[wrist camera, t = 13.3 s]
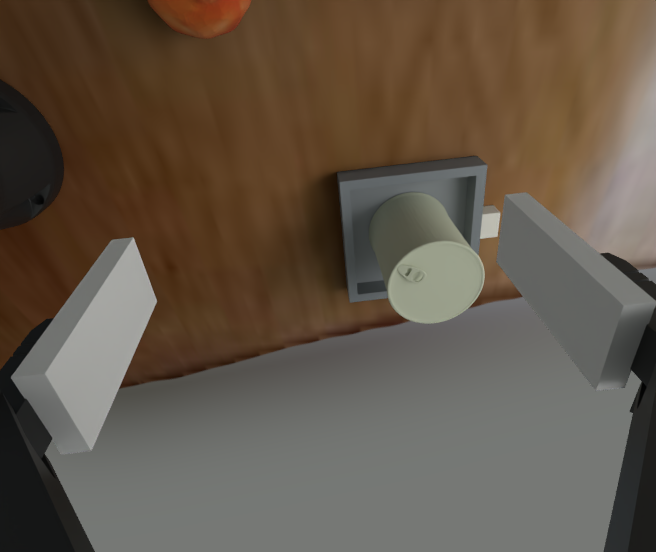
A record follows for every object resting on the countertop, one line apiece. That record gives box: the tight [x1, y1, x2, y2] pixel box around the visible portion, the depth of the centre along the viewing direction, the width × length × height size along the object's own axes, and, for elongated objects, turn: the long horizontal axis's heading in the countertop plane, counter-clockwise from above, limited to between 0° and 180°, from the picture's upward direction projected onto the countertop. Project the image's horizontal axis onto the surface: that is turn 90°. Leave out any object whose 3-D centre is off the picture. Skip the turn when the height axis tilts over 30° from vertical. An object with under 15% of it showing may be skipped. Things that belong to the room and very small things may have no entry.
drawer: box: [337, 156, 500, 302], centre depth 50 cm, size 17×15×3 cm
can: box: [369, 192, 485, 323], centre depth 46 cm, size 9×9×12 cm
